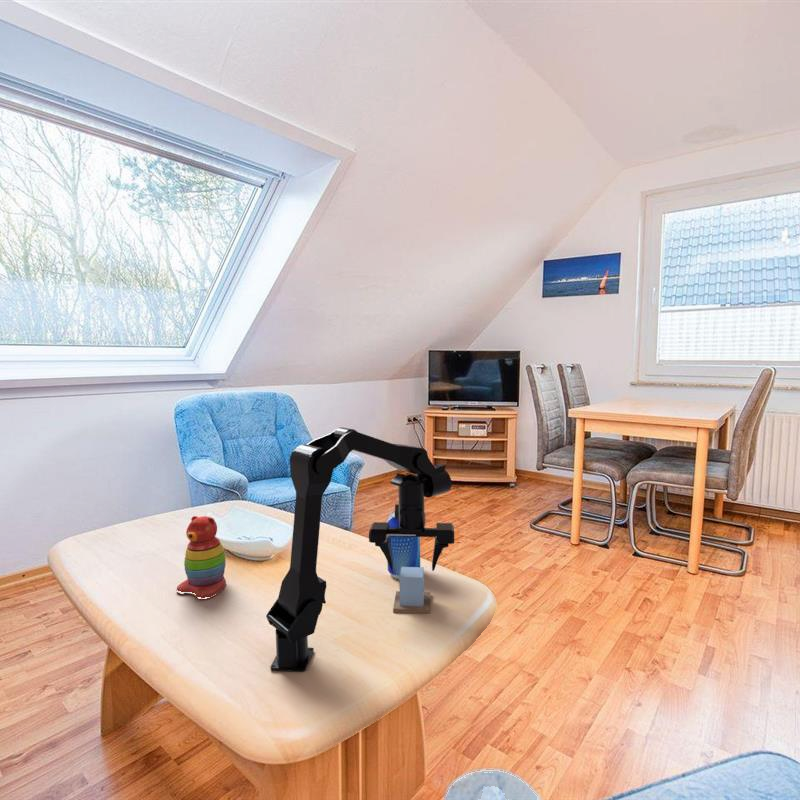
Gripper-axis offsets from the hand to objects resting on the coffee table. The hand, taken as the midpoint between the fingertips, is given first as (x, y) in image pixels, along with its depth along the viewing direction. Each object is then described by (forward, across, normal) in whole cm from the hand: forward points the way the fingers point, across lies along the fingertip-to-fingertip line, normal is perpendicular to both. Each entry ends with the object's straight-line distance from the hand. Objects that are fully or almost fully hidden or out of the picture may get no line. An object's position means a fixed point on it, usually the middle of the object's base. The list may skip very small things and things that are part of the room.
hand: (412, 569), depth 112 cm
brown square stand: (+8, 0, 0) cm, 8 cm away
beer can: (+8, +3, -15) cm, 17 cm away
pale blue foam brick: (+7, 0, 0) cm, 7 cm away
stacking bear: (+8, +51, -5) cm, 52 cm away
